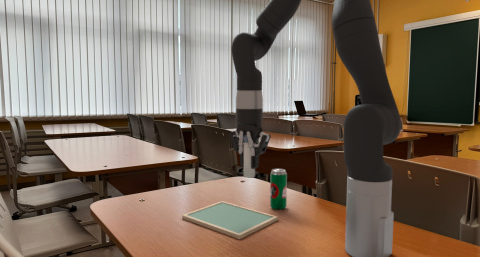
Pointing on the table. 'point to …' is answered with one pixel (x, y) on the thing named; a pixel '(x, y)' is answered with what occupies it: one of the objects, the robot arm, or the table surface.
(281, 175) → the soda can
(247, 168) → the marker
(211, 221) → the slate
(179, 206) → the table surface
